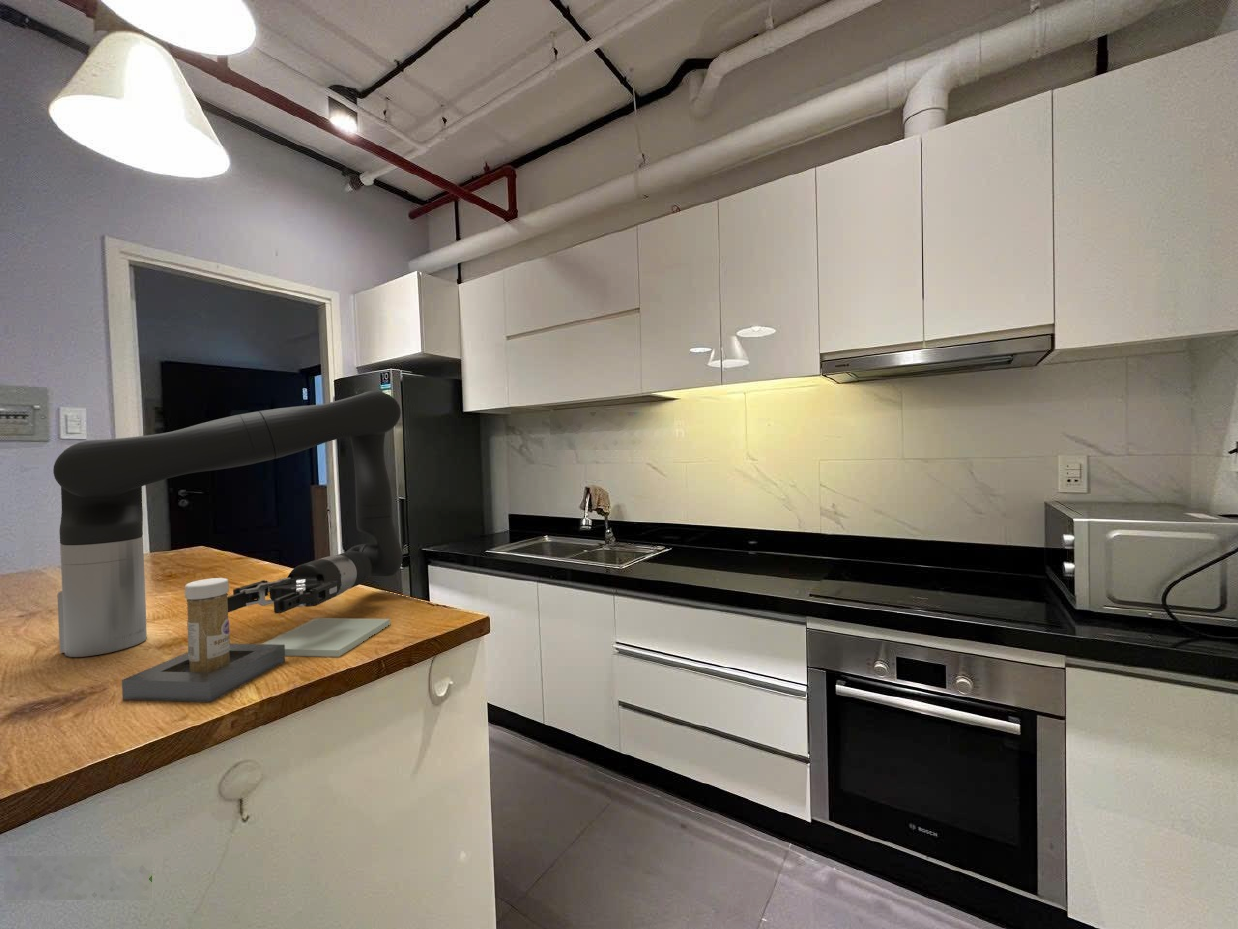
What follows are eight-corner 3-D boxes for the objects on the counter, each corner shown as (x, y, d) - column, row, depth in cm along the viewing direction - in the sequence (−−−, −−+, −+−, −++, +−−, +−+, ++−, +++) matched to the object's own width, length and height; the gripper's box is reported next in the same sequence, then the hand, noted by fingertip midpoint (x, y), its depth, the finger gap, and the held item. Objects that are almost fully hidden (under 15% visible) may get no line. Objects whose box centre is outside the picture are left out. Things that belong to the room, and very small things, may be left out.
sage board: (252, 655, 75) (252, 648, 75) (316, 623, 89) (316, 618, 89) (339, 656, 74) (338, 650, 74) (390, 624, 88) (390, 619, 88)
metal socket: (122, 699, 62) (121, 679, 62) (210, 659, 74) (209, 643, 74) (210, 702, 61) (210, 682, 61) (285, 661, 73) (284, 644, 73)
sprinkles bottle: (229, 681, 67) (226, 581, 66) (185, 690, 64) (181, 587, 64) (233, 668, 71) (230, 575, 70) (191, 677, 68) (187, 580, 68)
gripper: (286, 558, 91) (204, 581, 74) (360, 558, 89) (293, 582, 73) (287, 599, 91) (206, 631, 75) (361, 600, 89) (295, 632, 73)
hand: (249, 606), depth 74 cm, fingers open, 8 cm apart
